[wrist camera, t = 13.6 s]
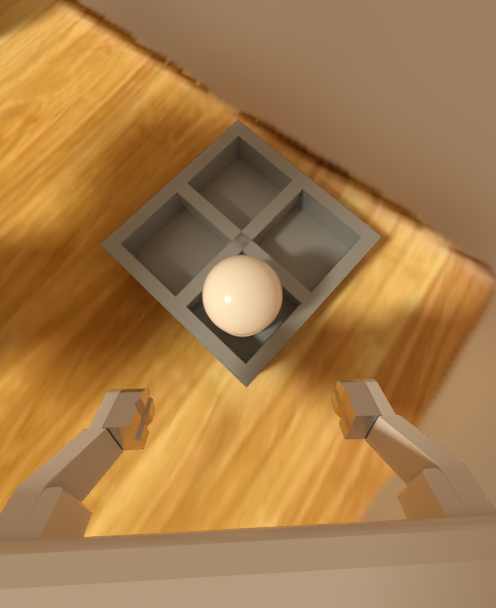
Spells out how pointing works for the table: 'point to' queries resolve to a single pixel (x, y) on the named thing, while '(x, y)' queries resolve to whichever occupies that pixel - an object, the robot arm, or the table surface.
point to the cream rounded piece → (242, 295)
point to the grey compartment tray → (241, 242)
